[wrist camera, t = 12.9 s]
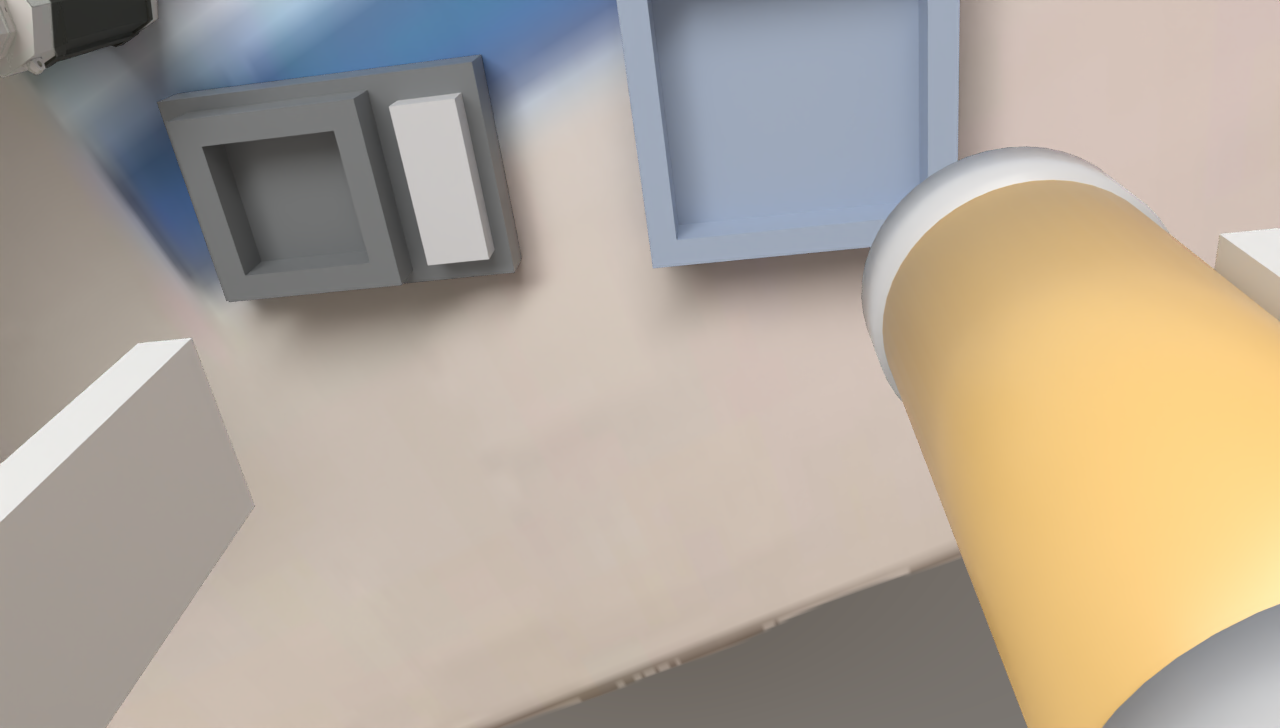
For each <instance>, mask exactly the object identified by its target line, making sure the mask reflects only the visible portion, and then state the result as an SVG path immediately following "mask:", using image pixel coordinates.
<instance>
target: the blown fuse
mask: <svg viewBox="0 0 1280 728" xmlns="http://www.w3.org/2000/svg"><path fill="white" fill-rule="evenodd" d="M861 298H862V307H863V314H864V318H865V322H866V326H867V329H868V332H869V335H870V338H871V340H872V343H873V346H874V348H875V351H876V354H877V357H878V359H879V362H880V365H881V367H882V369H883V372H884V374H885V376H886V379H887V381H888V382H889V384H890V386H891V387H892V389H893V390H894V392H895V394H896V395H897V396H898V397H899V398H900V400H901V401H902V402H903V404H904V407H905V409H906V412H907V414H908V417H909V420H910V422H911V425H912V427H913V430H914V433H915V435H916V438H917V440H918V443H919V446H920V448H921V451H922V453H923V456H924V459H925V461H926V464H927V466H928V469H929V472H930V474H931V477H932V479H933V482H934V485H935V487H936V490H937V492H938V495H939V498H940V500H941V503H942V505H943V508H944V511H945V513H946V516H947V518H948V521H949V524H950V526H951V529H952V532H953V534H954V537H955V539H956V542H957V545H958V547H959V550H960V552H961V555H962V558H963V560H964V562H965V565H966V568H967V571H968V573H969V576H970V578H971V581H972V583H973V586H974V589H975V591H976V594H977V597H978V599H979V602H980V604H981V607H982V610H983V612H984V615H985V617H986V620H987V623H988V625H989V628H990V630H991V633H992V636H993V638H994V641H995V643H996V646H997V649H998V651H999V654H1000V657H1001V659H1002V662H1003V664H1004V667H1005V669H1006V672H1007V675H1008V677H1009V680H1010V682H1011V685H1012V687H1013V690H1014V693H1015V695H1016V698H1017V701H1018V703H1019V706H1020V708H1021V711H1022V714H1023V716H1024V719H1025V722H1026V724H1027V727H1028V728H1280V321H1278V320H1277V319H1276V318H1275V317H1273V316H1272V315H1271V314H1270V313H1268V312H1267V311H1266V310H1265V309H1263V308H1262V307H1261V306H1260V305H1258V304H1257V303H1256V302H1255V301H1253V300H1252V299H1251V298H1250V297H1248V296H1247V295H1246V294H1244V293H1243V292H1242V291H1241V290H1239V289H1238V288H1237V287H1236V286H1234V285H1233V284H1232V283H1231V282H1229V281H1228V280H1227V279H1226V278H1224V277H1223V276H1222V275H1221V274H1219V273H1218V272H1217V271H1216V270H1214V269H1213V268H1212V267H1210V266H1209V265H1208V264H1207V263H1205V262H1204V261H1203V260H1202V259H1200V258H1199V257H1198V256H1197V255H1195V254H1194V253H1193V252H1192V251H1190V250H1189V249H1188V248H1187V247H1185V246H1184V245H1183V244H1181V243H1180V242H1179V241H1178V240H1176V239H1175V238H1174V237H1173V236H1171V235H1170V233H1169V232H1168V230H1167V229H1166V227H1165V226H1164V224H1163V223H1162V221H1161V220H1160V218H1159V217H1158V216H1157V215H1156V214H1155V213H1154V212H1153V211H1152V210H1151V209H1150V208H1149V207H1148V206H1147V205H1146V204H1145V203H1144V202H1142V201H1141V200H1140V199H1138V198H1137V197H1136V196H1135V195H1133V194H1132V193H1131V192H1129V191H1128V190H1127V189H1125V188H1124V187H1123V186H1122V185H1120V184H1119V183H1118V182H1116V181H1115V180H1114V179H1112V178H1111V177H1110V176H1109V175H1107V174H1106V173H1105V172H1103V171H1102V170H1101V169H1099V168H1098V167H1097V166H1095V165H1093V164H1091V163H1089V162H1087V161H1086V160H1084V159H1082V158H1079V157H1077V156H1074V155H1071V154H1068V153H1066V152H1062V151H1057V150H1053V149H1048V148H1039V147H1007V148H1001V149H995V150H990V151H985V152H982V153H979V154H975V155H972V156H969V157H966V158H964V159H961V160H959V161H957V162H954V163H952V164H950V165H948V166H946V167H944V168H943V169H941V170H939V171H937V172H936V173H934V174H932V175H931V176H929V177H928V178H927V179H925V180H924V181H923V182H921V183H920V184H919V185H917V186H916V187H915V188H914V189H913V190H912V191H911V192H909V193H908V194H907V195H906V196H905V197H904V198H903V199H902V200H901V201H900V202H899V203H898V205H897V206H896V207H895V208H894V209H893V211H892V212H891V213H890V214H889V215H888V217H887V219H886V220H885V222H884V223H883V225H882V226H881V228H880V229H879V231H878V233H877V235H876V237H875V239H874V241H873V243H872V246H871V248H870V251H869V254H868V257H867V260H866V263H865V268H864V273H863V279H862V296H861Z"/></svg>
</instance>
